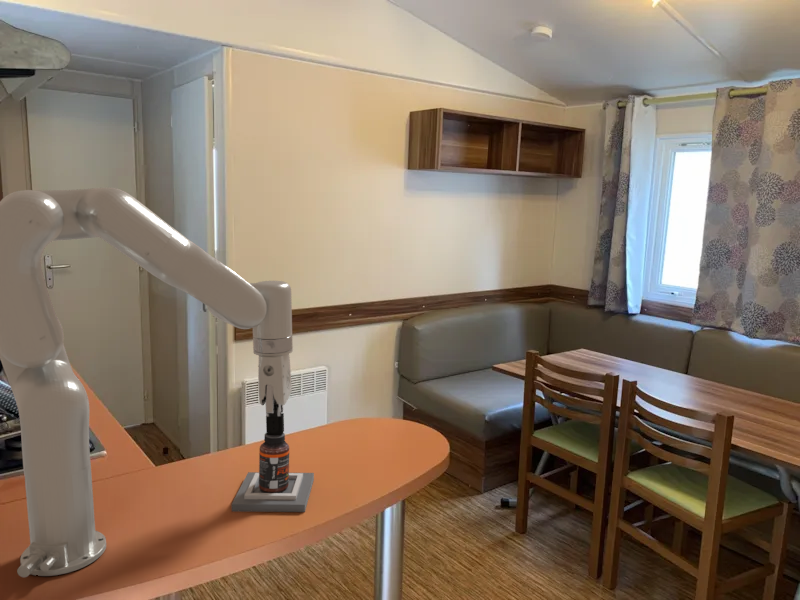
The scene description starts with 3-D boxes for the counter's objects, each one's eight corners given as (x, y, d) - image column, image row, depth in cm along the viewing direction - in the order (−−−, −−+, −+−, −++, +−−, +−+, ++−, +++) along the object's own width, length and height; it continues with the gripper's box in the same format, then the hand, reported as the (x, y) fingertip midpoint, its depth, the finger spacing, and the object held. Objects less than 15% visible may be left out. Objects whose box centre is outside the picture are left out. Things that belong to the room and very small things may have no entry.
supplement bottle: (280, 496, 122) (281, 441, 120) (253, 491, 123) (253, 437, 122) (293, 483, 127) (294, 430, 126) (267, 479, 129) (267, 427, 127)
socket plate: (304, 511, 119) (304, 500, 118) (231, 511, 119) (231, 500, 118) (313, 479, 133) (313, 469, 132) (248, 478, 132) (248, 468, 132)
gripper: (285, 354, 113) (288, 448, 116) (297, 335, 128) (299, 420, 131) (244, 354, 113) (248, 448, 116) (261, 335, 128) (264, 420, 131)
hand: (275, 433), depth 124 cm, fingers closed
